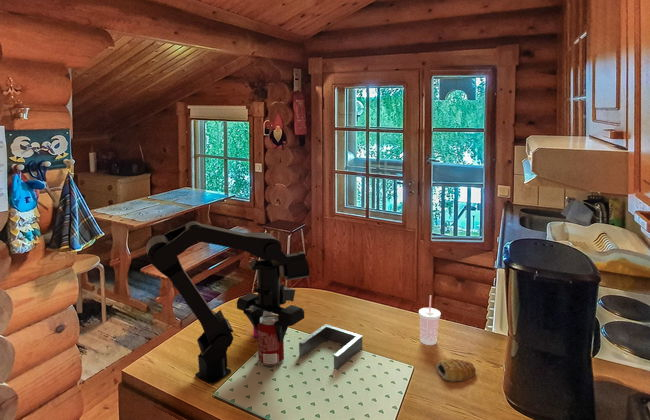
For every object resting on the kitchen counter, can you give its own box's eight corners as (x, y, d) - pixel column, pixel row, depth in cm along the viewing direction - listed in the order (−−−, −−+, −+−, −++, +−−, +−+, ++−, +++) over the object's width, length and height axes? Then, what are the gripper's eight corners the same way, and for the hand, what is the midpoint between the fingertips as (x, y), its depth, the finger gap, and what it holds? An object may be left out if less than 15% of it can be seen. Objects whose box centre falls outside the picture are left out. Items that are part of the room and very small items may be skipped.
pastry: (466, 364, 115) (467, 351, 114) (481, 380, 109) (482, 366, 108) (433, 369, 113) (434, 356, 112) (446, 385, 107) (447, 371, 106)
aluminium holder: (337, 370, 113) (337, 356, 112) (299, 355, 119) (299, 342, 118) (362, 348, 123) (362, 335, 122) (325, 336, 130) (325, 323, 129)
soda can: (279, 369, 113) (278, 326, 111) (254, 366, 115) (253, 324, 112) (287, 355, 120) (286, 314, 117) (263, 352, 121) (261, 312, 118)
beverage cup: (441, 338, 128) (444, 293, 125) (436, 348, 123) (438, 301, 120) (420, 334, 131) (422, 290, 128) (414, 343, 126) (416, 297, 123)
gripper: (316, 280, 114) (317, 335, 117) (262, 266, 124) (264, 317, 127) (289, 295, 105) (291, 354, 108) (233, 279, 115) (236, 333, 118)
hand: (270, 338), depth 116 cm, fingers closed on soda can, 7 cm apart
